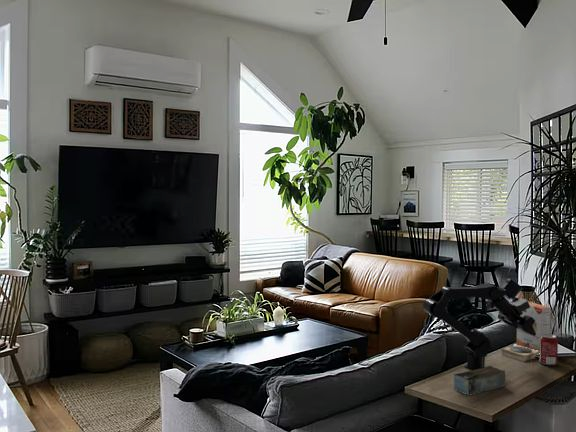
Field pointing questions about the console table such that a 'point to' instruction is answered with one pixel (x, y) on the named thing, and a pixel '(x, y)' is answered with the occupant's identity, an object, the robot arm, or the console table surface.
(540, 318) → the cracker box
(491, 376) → the grey rectangular block
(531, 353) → the beige square dish
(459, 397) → the console table surface
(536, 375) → the console table surface
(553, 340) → the soda can
